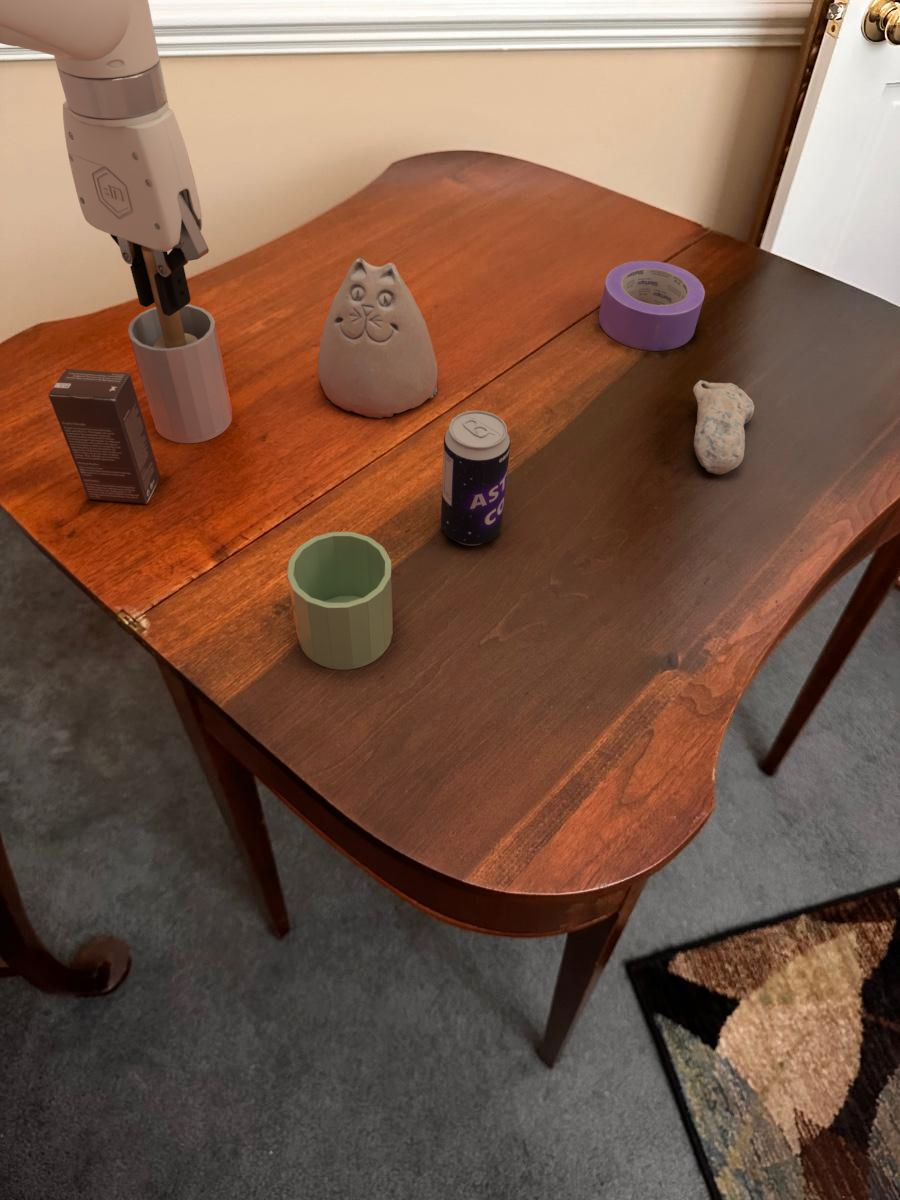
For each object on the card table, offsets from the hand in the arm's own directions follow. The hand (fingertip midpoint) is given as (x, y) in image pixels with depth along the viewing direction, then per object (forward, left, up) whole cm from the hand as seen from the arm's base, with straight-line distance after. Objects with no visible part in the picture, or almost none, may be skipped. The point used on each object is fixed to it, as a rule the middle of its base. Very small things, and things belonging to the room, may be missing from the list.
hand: (165, 302), depth 81 cm
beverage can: (+20, -26, -14) cm, 36 cm away
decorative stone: (+50, -24, -14) cm, 57 cm away
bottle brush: (0, 0, -11) cm, 11 cm away
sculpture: (+20, -2, -14) cm, 24 cm away
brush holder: (+5, -33, -13) cm, 36 cm away
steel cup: (0, 0, -13) cm, 13 cm away
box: (-9, -8, -14) cm, 18 cm away
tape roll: (+55, -2, -14) cm, 57 cm away
